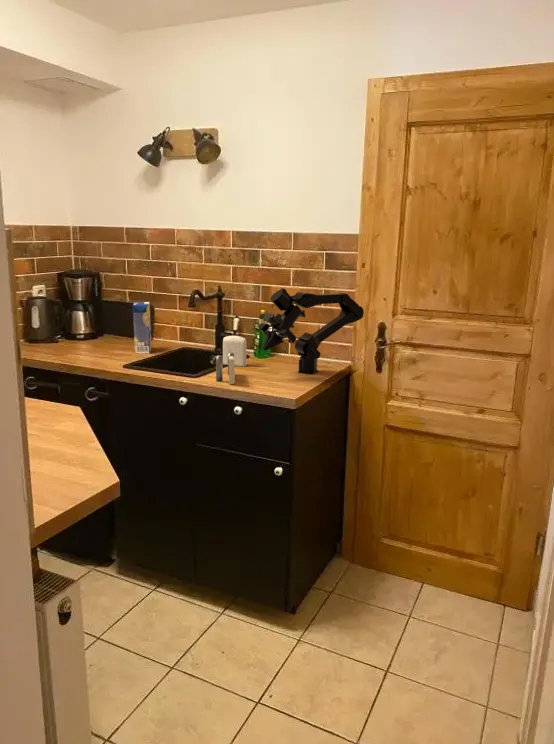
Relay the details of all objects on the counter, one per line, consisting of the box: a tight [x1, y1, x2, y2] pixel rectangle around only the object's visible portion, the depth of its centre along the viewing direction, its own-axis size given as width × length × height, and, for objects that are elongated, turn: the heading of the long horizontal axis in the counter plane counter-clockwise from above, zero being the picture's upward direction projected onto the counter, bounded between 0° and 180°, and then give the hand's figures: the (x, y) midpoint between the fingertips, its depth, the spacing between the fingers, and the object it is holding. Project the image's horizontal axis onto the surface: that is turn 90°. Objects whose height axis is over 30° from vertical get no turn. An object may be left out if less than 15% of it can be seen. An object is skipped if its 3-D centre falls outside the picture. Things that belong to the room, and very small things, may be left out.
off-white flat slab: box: [228, 356, 236, 385], centre depth 213 cm, size 14×2×9 cm, turn 6°
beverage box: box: [132, 301, 152, 354], centre depth 261 cm, size 7×11×22 cm, turn 9°
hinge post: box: [227, 353, 234, 376], centre depth 221 cm, size 2×2×8 cm
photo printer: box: [222, 335, 247, 367], centre depth 237 cm, size 10×4×12 cm, turn 73°
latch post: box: [215, 355, 224, 382], centre depth 211 cm, size 2×2×10 cm
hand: (263, 349), depth 215 cm, fingers closed
